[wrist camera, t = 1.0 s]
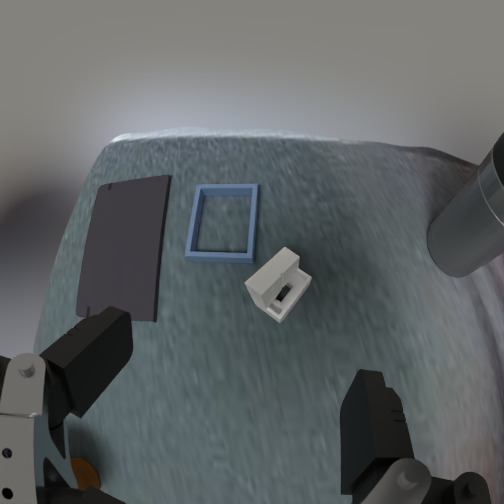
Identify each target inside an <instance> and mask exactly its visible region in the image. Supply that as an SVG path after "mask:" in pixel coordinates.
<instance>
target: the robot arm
mask: <svg viewBox="0 0 504 504" xmlns="http://www.w3.org/2000/svg"><path fill="white" fill-rule="evenodd" d="M427 242H428V248H429V252H430V254H431V256H432V258H433V260H434V262H435V263H436V265H437V266H438V267H439V268H440V269H441V270H442V271H444V272H445V273H446V274H448V275H450V276H454V277H464V276H467V275H468V274H470V273H472V272H473V271H475V270H477V269H478V268H480V267H482V266H483V265H485V264H486V263H488V262H490V261H491V260H493V259H494V258H496V257H497V256H499V255H500V254H502V253H503V252H504V133H503V134H502V135H501V136H500V138H499V139H498V141H497V142H496V143H495V145H494V147H493V148H492V149H491V151H490V152H489V153H488V155H487V156H486V158H485V159H484V160H483V162H482V163H481V164H480V166H479V167H478V168H477V170H476V171H475V172H474V173H473V175H472V176H471V177H470V178H469V180H468V181H467V182H466V183H465V185H464V186H463V187H462V188H461V190H460V191H459V192H458V193H457V194H456V196H455V197H454V198H453V199H452V200H451V202H450V203H449V204H448V205H447V206H446V207H445V208H444V210H443V211H442V212H441V213H440V214H439V215H438V216H437V218H436V219H435V220H434V221H433V222H432V224H431V225H430V227H429V230H428V236H427ZM132 352H133V338H132V323H131V315H130V313H129V312H127V311H124V310H121V309H118V308H116V307H113V306H109V307H107V308H106V309H105V310H104V311H102V312H101V313H100V314H99V315H96V314H95V315H93V316H90V317H87V318H85V319H83V320H81V321H80V322H79V323H78V324H76V325H75V326H74V328H72V329H70V330H69V331H68V332H67V334H64V335H63V336H62V337H60V338H59V339H58V340H57V341H56V342H54V343H53V344H52V345H51V346H50V347H48V348H47V349H46V350H45V351H44V352H42V353H41V354H40V355H39V356H38V355H36V354H32V353H24V354H20V355H18V356H16V357H14V358H13V359H10V358H6V357H3V356H0V504H126V503H125V502H122V501H120V500H118V499H116V498H114V497H112V496H110V495H108V494H106V493H104V492H102V491H101V490H99V489H97V488H95V487H93V486H91V485H90V484H89V486H88V487H87V489H86V490H81V489H78V485H77V482H76V478H75V476H74V473H73V471H72V468H71V463H70V454H69V444H68V430H67V420H66V416H67V415H68V414H69V413H70V412H71V413H72V414H74V415H76V416H77V417H79V418H82V417H83V415H84V414H85V413H86V412H87V410H88V409H89V408H90V407H91V406H92V404H93V403H94V402H95V401H96V400H97V398H98V397H99V396H100V395H101V393H102V392H103V391H104V390H105V389H106V387H107V386H108V385H109V384H110V383H111V382H112V380H113V379H114V378H115V377H116V376H117V374H118V373H119V372H120V371H121V370H122V368H123V367H124V366H125V365H126V364H127V363H128V361H129V360H130V358H131V355H132ZM405 421H406V419H405V415H404V413H403V407H402V403H401V400H400V398H399V396H398V395H397V394H396V392H395V391H394V390H393V388H388V387H386V385H385V381H384V377H383V374H382V372H378V371H371V370H363V369H360V370H359V371H358V372H357V374H356V376H355V378H354V380H353V382H352V384H351V386H350V388H349V390H348V392H347V394H346V396H345V398H344V400H343V403H342V406H341V410H340V435H341V495H352V503H351V504H491V499H490V494H489V490H488V486H487V483H486V481H485V480H484V478H483V477H482V476H480V475H479V474H477V473H474V472H466V473H463V474H461V475H460V476H459V477H458V478H457V479H455V480H454V481H452V480H446V479H441V478H437V477H433V476H431V474H430V472H429V470H428V468H427V467H426V466H425V465H424V464H423V463H422V462H420V461H418V460H415V458H414V453H413V448H412V444H411V440H410V435H409V431H408V427H407V423H405Z"/></svg>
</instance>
